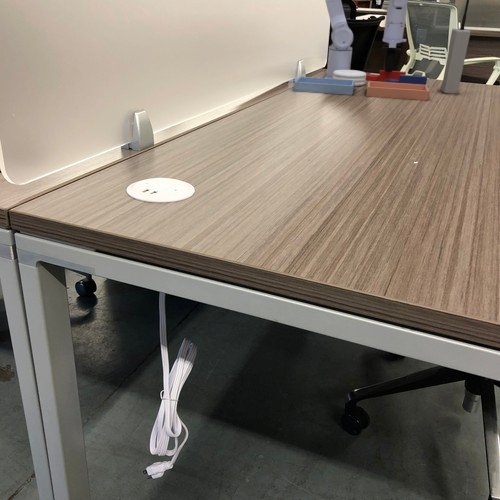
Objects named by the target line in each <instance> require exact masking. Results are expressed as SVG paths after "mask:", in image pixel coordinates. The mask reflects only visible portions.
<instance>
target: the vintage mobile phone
mask: <svg viewBox="0 0 500 500" xmlns="http://www.w3.org/2000/svg"><path fill="white" fill-rule="evenodd" d="M469 2H470V0H466V1H465V6H464V7H465V8H464V12H463V14H462V15H463V16H462V20H461V24H460V27H459V28H452V29H451V34H450V40H449V45H448V51H447V52H448V53H447V58H446V63H445V67H444V73H443V79H442V81H441V84H440V88H439V89H440V91H441V93H443V94H450V95H457V94H458V93H459V89H460V83H461V79H462V74H463V70H464V65H465V59H466V56H467V52H468V51H467V50H468V46H469V42H470V38H471V37H470V36H471V30H470V29H465V24H466V20H467V13H468V8H469Z"/></svg>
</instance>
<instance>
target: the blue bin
mask: <svg viewBox="0 0 500 500" xmlns="http://www.w3.org/2000/svg"><path fill="white" fill-rule="evenodd" d="M354 85H355V80H344V79H329V78H324V77H312V76H299V77H297V79H296V80H295V81H294V85H293V92H302V93H303V92H305V93H317V94H318V93H320V94H330V95H331V94H332V95H344V96H345V95H347V96H353V93H354V90H355V86H354Z"/></svg>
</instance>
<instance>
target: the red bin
mask: <svg viewBox="0 0 500 500" xmlns="http://www.w3.org/2000/svg"><path fill="white" fill-rule="evenodd" d="M367 81H368V82H367V86H366V87H367V88H366V97H372V98H373V97H374V98H376V97H377V98H388V99H389V98H390V99H401V100H403V99H404V100H417V101H429V96H430V89H429V87H428V85H427V84H426V85H420V84H405V83H390V82H385V81H369V80H367Z"/></svg>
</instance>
